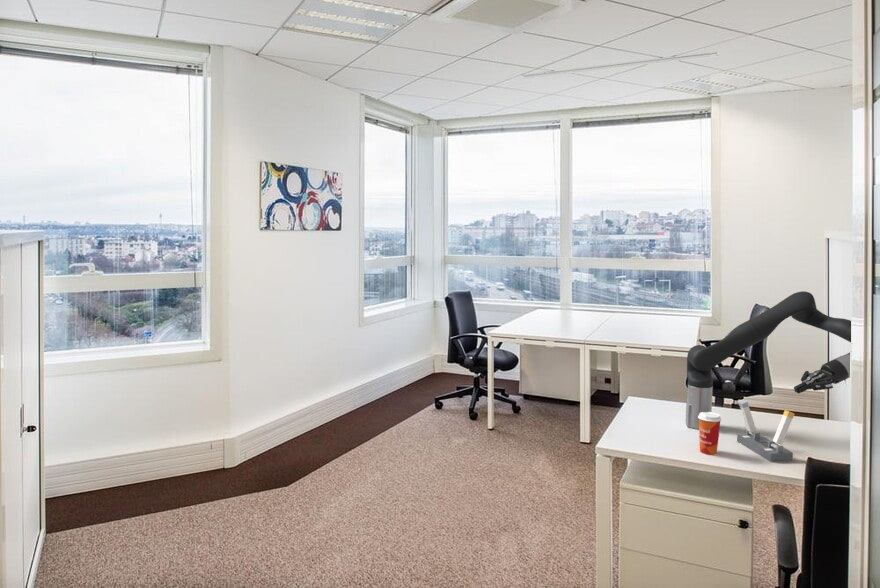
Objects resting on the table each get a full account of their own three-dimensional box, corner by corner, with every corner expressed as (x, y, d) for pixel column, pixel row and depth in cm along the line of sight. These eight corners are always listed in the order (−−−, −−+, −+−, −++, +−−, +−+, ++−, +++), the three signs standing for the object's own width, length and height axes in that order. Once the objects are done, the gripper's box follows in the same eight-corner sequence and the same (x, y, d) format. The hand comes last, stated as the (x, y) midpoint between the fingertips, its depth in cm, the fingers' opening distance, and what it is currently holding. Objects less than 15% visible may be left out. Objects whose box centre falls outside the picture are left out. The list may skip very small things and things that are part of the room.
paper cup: (692, 448, 216) (694, 411, 214) (712, 447, 217) (714, 410, 215) (703, 456, 208) (705, 418, 207) (724, 455, 209) (726, 417, 207)
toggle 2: (775, 449, 204) (790, 412, 203) (769, 445, 208) (783, 409, 207) (780, 451, 205) (795, 414, 204) (774, 447, 208) (789, 411, 207)
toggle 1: (753, 438, 217) (742, 404, 216) (747, 434, 221) (737, 401, 219) (759, 435, 218) (748, 402, 216) (753, 432, 221) (743, 399, 219)
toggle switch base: (770, 462, 203) (771, 447, 202) (736, 441, 223) (737, 428, 222) (792, 461, 203) (793, 446, 203) (756, 440, 223) (757, 427, 223)
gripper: (858, 383, 198) (812, 406, 198) (831, 372, 211) (787, 393, 211) (851, 364, 196) (804, 387, 197) (824, 354, 209) (780, 375, 210)
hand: (795, 390), depth 204 cm, fingers closed
